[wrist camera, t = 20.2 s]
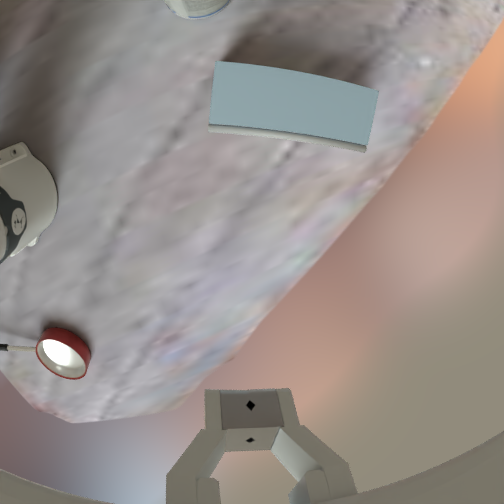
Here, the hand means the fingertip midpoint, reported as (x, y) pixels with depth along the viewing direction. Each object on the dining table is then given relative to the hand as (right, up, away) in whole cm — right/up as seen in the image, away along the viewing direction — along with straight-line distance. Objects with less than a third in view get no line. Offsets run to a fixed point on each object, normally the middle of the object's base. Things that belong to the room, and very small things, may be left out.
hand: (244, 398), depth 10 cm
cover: (+6, +23, +24) cm, 33 cm away
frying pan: (-52, -17, +48) cm, 72 cm away
